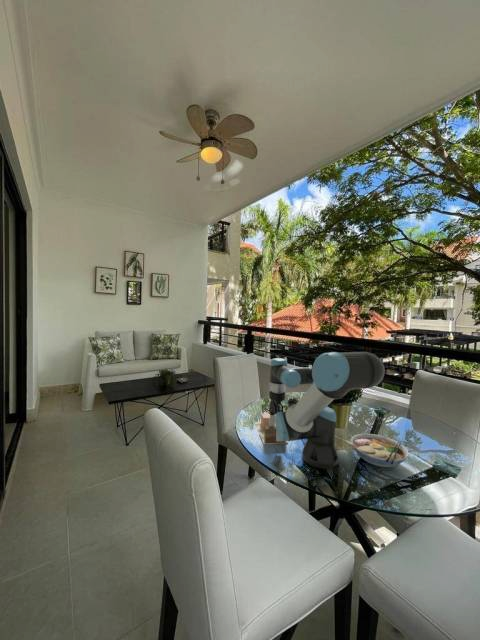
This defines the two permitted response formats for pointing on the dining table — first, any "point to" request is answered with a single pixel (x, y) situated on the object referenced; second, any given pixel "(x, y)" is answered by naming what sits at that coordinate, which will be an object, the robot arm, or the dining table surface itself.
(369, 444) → the ramen bowl
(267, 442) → the wooden brown box
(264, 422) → the block
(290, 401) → the fruit
